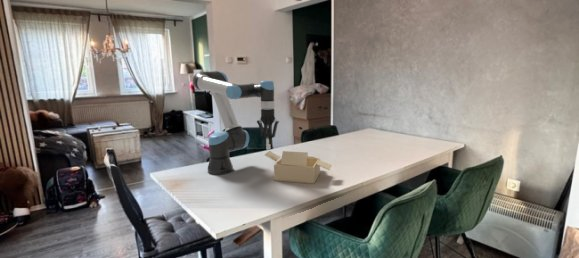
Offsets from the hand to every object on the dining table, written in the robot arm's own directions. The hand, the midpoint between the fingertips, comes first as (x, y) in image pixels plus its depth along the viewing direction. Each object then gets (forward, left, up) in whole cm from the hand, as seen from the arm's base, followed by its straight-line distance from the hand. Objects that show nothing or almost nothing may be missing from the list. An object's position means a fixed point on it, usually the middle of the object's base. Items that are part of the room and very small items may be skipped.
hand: (268, 149), depth 180 cm
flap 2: (+17, -7, -3) cm, 19 cm away
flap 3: (+17, +13, -7) cm, 23 cm away
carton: (+17, 0, -15) cm, 23 cm away
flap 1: (+3, 0, -4) cm, 4 cm away
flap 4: (+32, 0, -7) cm, 33 cm away
